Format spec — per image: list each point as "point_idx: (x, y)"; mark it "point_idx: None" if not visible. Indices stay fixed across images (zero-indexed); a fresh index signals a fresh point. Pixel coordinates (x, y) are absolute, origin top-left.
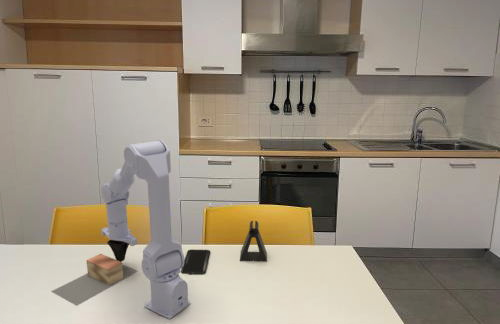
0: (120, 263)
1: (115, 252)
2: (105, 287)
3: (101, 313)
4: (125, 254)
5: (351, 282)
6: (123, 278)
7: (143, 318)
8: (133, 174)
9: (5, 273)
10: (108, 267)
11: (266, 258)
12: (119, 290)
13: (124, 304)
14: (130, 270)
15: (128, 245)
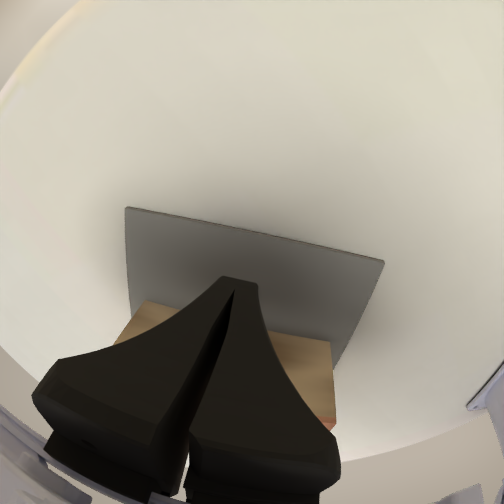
0: (331, 428)
1: (202, 397)
2: None
3: (361, 450)
4: (261, 313)
5: None
6: (336, 346)
7: (465, 422)
8: None
9: (13, 358)
10: None
11: None
12: (362, 395)
13: (409, 421)
14: (329, 274)
15: (297, 393)
